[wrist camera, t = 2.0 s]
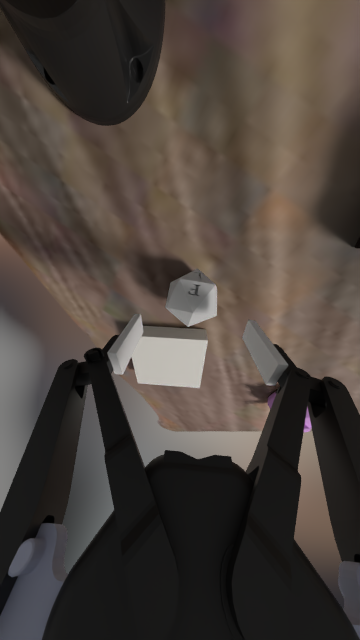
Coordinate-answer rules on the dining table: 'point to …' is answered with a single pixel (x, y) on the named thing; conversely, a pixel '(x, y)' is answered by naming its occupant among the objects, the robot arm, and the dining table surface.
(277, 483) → the robot arm
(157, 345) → the plinth
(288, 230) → the dining table surface
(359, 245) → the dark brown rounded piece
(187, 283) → the die
